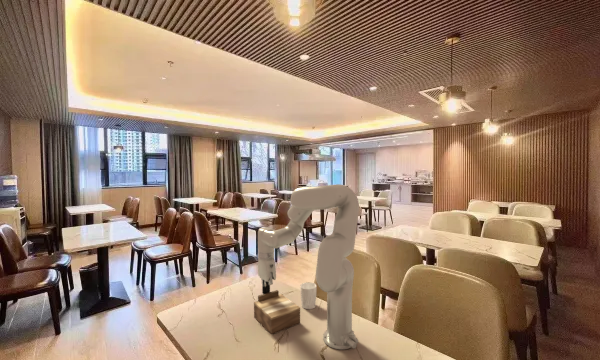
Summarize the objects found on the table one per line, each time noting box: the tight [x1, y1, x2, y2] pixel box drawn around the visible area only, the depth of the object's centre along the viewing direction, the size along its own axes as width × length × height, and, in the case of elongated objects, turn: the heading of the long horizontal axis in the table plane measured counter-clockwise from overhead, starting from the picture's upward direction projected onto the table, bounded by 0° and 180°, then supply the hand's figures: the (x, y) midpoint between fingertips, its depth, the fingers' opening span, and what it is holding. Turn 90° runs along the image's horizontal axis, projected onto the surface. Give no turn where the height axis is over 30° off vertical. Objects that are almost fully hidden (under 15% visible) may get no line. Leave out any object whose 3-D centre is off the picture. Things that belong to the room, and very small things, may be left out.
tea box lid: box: [253, 289, 301, 320], centre depth 118 cm, size 16×14×3 cm
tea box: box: [253, 303, 301, 336], centre depth 118 cm, size 16×14×6 cm
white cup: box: [299, 281, 318, 310], centre depth 131 cm, size 8×8×10 cm
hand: (266, 293), depth 126 cm, fingers closed
